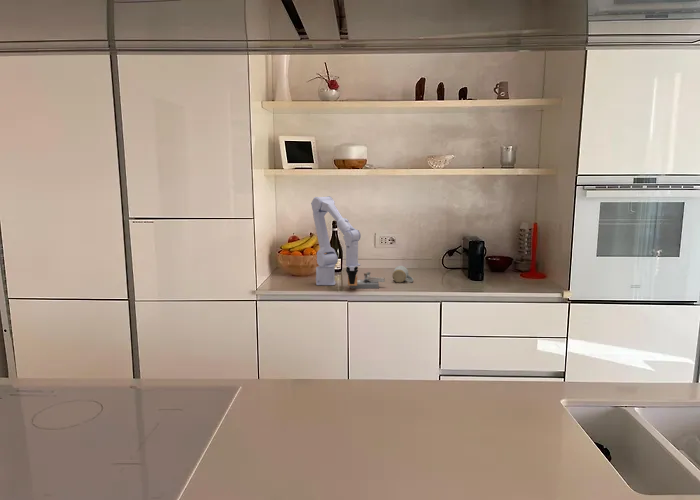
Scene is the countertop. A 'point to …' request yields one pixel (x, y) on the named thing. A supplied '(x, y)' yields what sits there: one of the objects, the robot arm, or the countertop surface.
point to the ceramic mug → (401, 274)
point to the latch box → (366, 284)
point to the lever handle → (372, 278)
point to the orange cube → (354, 283)
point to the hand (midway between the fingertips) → (352, 282)
